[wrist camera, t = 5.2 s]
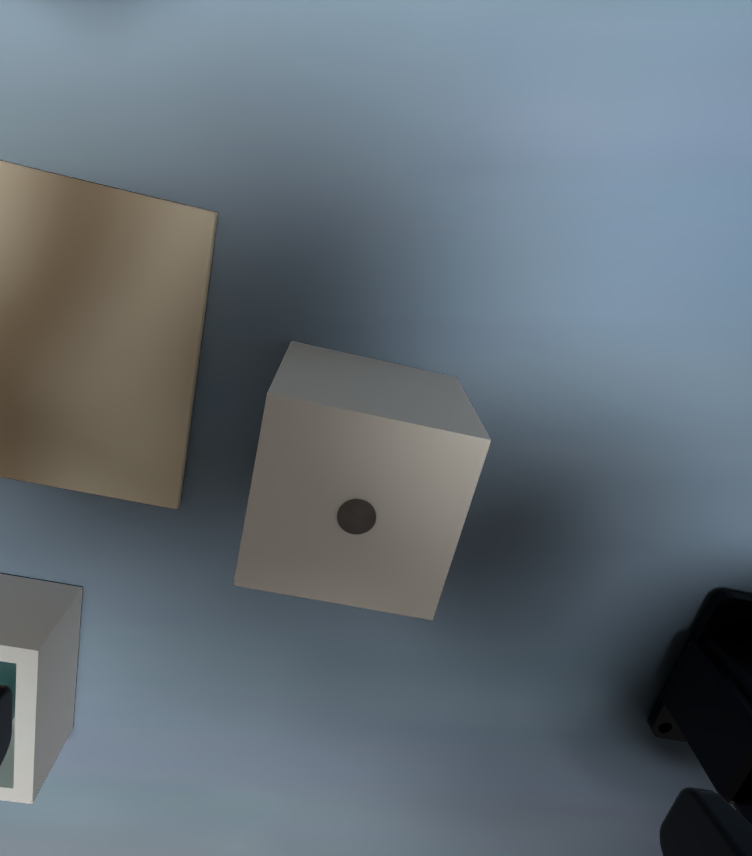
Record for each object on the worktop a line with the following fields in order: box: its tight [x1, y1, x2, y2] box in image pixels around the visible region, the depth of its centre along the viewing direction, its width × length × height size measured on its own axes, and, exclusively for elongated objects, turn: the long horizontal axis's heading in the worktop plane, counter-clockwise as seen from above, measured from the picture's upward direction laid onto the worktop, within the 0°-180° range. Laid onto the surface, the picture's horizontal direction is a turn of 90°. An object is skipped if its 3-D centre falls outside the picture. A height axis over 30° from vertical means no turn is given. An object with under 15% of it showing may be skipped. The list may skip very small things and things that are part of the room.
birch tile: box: [0, 160, 218, 509], centre depth 17 cm, size 9×9×1 cm
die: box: [233, 341, 491, 620], centre depth 16 cm, size 5×5×5 cm
